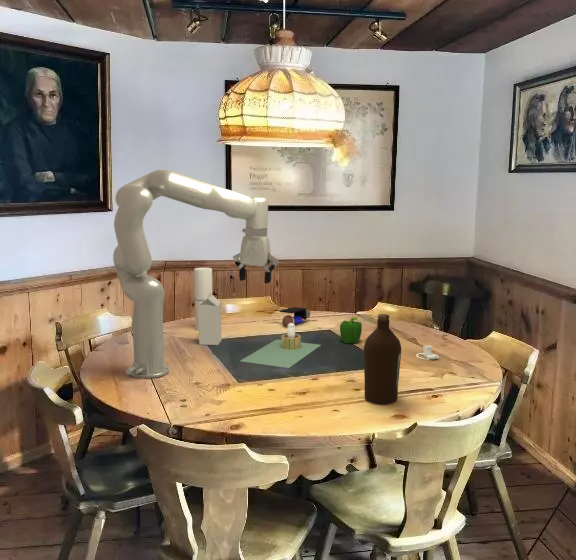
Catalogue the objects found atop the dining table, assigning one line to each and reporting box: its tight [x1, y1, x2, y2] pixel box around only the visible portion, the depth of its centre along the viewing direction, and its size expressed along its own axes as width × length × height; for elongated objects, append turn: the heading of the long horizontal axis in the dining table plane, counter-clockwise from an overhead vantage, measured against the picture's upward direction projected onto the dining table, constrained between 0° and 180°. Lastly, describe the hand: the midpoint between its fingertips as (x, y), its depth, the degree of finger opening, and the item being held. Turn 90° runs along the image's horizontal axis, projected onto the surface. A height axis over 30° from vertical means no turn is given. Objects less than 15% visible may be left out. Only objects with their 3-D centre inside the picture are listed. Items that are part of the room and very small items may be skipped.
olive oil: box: [363, 313, 402, 405], centre depth 183 cm, size 11×11×25 cm
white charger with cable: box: [415, 344, 440, 360], centre depth 227 cm, size 9×8×4 cm
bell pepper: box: [339, 316, 363, 344], centre depth 244 cm, size 8×8×10 cm
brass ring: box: [280, 333, 302, 350], centre depth 232 cm, size 7×7×4 cm
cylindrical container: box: [193, 267, 213, 332], centre depth 261 cm, size 7×7×25 cm
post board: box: [240, 323, 322, 369], centre depth 225 cm, size 30×18×10 cm, turn 157°
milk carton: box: [198, 291, 222, 346], centre depth 241 cm, size 7×7×19 cm
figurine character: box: [279, 306, 311, 328], centre depth 271 cm, size 7×8×15 cm
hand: (254, 281), depth 224 cm, fingers open, 9 cm apart
